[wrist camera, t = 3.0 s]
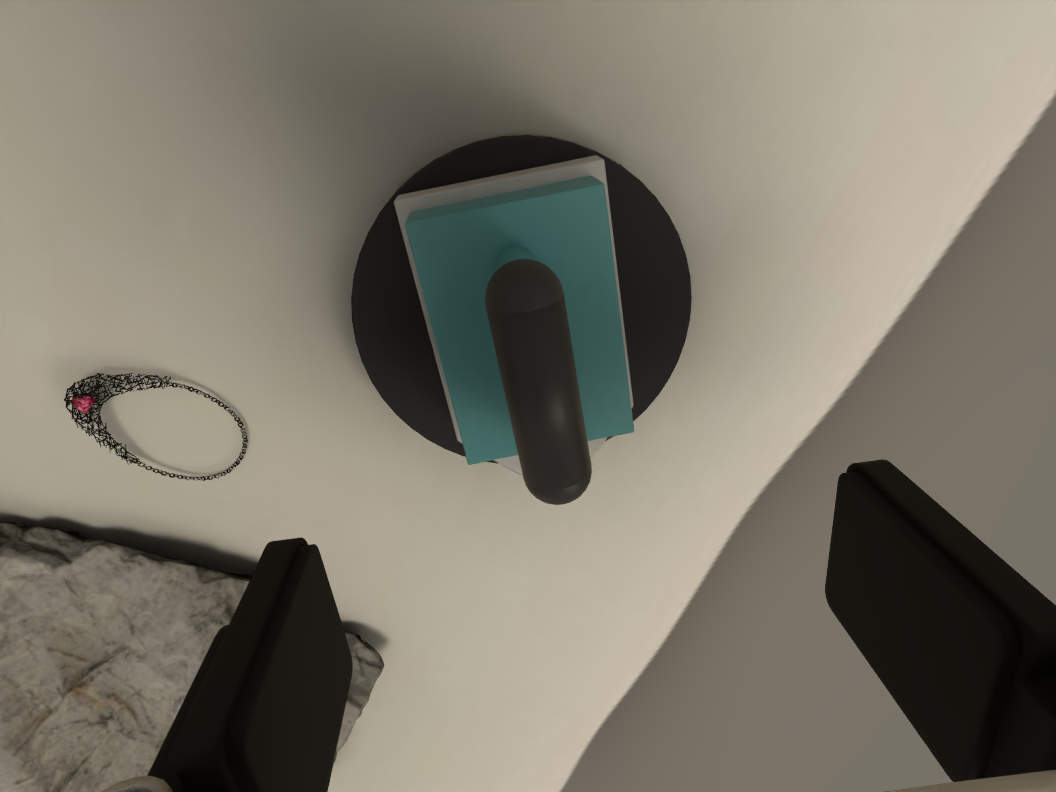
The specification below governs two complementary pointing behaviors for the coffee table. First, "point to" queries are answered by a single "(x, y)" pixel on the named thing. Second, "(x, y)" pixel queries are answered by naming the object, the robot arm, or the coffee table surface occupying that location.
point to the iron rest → (398, 320)
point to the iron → (525, 317)
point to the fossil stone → (108, 656)
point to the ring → (87, 399)
